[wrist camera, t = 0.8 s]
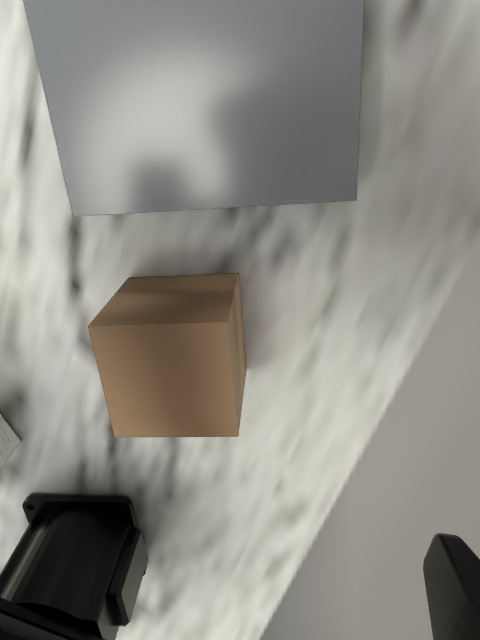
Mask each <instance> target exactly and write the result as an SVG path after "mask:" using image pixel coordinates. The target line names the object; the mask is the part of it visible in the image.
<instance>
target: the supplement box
mask: <svg viewBox="0 0 480 640" xmlns="http://www.w3.org/2000/svg"><path fill="white" fill-rule="evenodd" d="M19 444H20V440H19V438H18V437H17V435H16V434H15V433H14V432H13V430H12V429H11V428H10V426H9V425H8V424H7V422H6V421H5V420H4V418H3V417H2V416H1V414H0V469H1V468H2V466H3V465H4V463H5V462H6V461H7V459H8V458H9V457H10V456H11V454H12V453H13V452H14V450H15V449H16V448H17V446H18V445H19Z"/></svg>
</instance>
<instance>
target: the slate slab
mask: <svg viewBox="0 0 480 640" xmlns="http://www.w3.org/2000/svg"><path fill="white" fill-rule="evenodd" d="M23 2H24V6H25V11H26V15H27V19H28V24H29V28H30V32H31V37H32V41H33V45H34V50H35V54H36V58H37V63H38V67H39V71H40V76H41V80H42V84H43V89H44V93H45V97H46V102H47V106H48V110H49V115H50V119H51V123H52V128H53V132H54V136H55V141H56V145H57V149H58V154H59V158H60V162H61V167H62V171H63V175H64V180H65V184H66V188H67V193H68V197H69V201H70V206H71V210H72V214H73V217H75V216H92V215H110V214H127V213H145V212H162V211H180V210H197V209H215V208H232V207H250V206H267V205H285V204H302V203H320V202H337V201H355V200H357V173H358V146H359V120H360V93H361V67H362V40H363V14H364V0H23Z"/></svg>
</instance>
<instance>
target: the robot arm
mask: <svg viewBox="0 0 480 640" xmlns="http://www.w3.org/2000/svg"><path fill="white" fill-rule="evenodd" d="M22 506H23V509H24V512H25V515H26V517H27V520H28V522H29V526H28V528H27V529H26V531H25V533H24V534H23V536H22V538H21V539H20V541H19V543H18V545H17V546H16V548H15V550H14V551H13V553H12V555H11V557H10V558H9V560H8V562H7V563H6V565H5V567H4V568H3V570H2V572H1V574H0V640H115V638H116V635H117V632H118V628H119V626H126V625H127V624H128V623H129V622H130V619H131V616H132V612H133V609H134V605H135V602H136V598H137V595H138V591H139V588H140V584H141V581H142V577H143V576H144V575H145V573H146V569H147V564H146V563H147V559H148V556H147V552H146V548H145V543H144V539H143V535H142V531H141V530H140V528H139V527H138V526H137V522H136V518H135V514H134V509H133V505H132V502H131V500H130V499H129V498H127V497H123V496H28V497H27V498H26V499H25V501H24V503H23V505H22ZM423 572H424V579H425V586H426V593H427V599H428V607H429V613H430V620H431V627H432V633H433V640H480V559H479V558H478V557H477V556H476V555H475V553H474V552H473V551H472V550H471V549H470V548H469V547H468V545H467V544H466V543H465V542H464V541H463V540H462V539H461V538H460V537H458V536H456V535H451V534H443V533H437V534H436V535H435V536H434V537H433V540H432V542H431V544H430V547H429V549H428V551H427V554H426V556H425V559H424V563H423Z"/></svg>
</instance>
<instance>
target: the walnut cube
mask: <svg viewBox="0 0 480 640" xmlns="http://www.w3.org/2000/svg"><path fill="white" fill-rule="evenodd" d="M88 329H89V333H90V337H91V341H92V345H93V350H94V354H95V358H96V362H97V366H98V370H99V374H100V379H101V383H102V387H103V391H104V395H105V399H106V403H107V407H108V412H109V416H110V420H111V424H112V428H113V432H114V436H115V437H238V435H239V427H240V418H241V410H242V401H243V393H244V384H245V376H246V360H245V347H244V334H243V321H242V308H241V296H240V283H239V273H225V274H201V275H178V276H154V277H131V278H128V279H127V280H126V281H125V283H124V284H123V285H122V286H121V287H120V289H119V290H118V291H117V292H116V293H115V295H114V296H113V297H112V298H111V299H110V301H109V302H108V303H107V304H106V305H105V307H104V308H103V309H102V310H101V311H100V313H99V314H98V315H97V316H96V317H95V319H94V320H93V321H92V322H91V323H90V324H89V326H88Z"/></svg>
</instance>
